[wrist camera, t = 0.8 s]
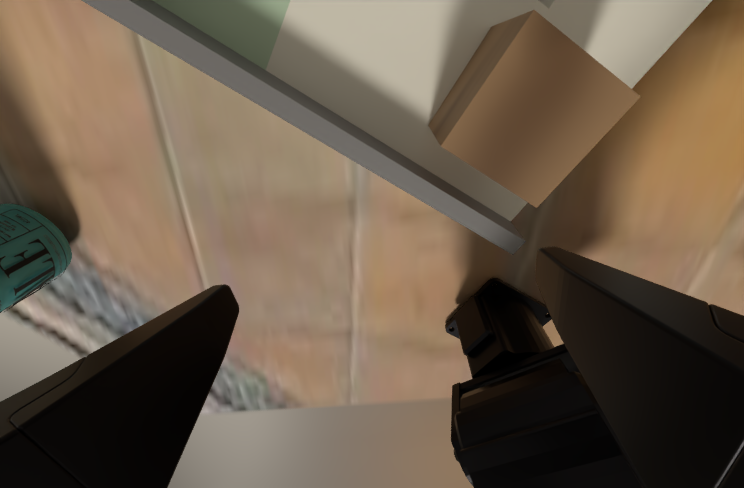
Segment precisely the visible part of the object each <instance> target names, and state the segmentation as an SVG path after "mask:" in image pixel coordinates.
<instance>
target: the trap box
mask: <svg viewBox="0 0 744 488" xmlns="http://www.w3.org/2000/svg"><path fill="white" fill-rule="evenodd" d="M82 1H83V2H85V3H87V4H88V5H90V6H92V7H93V8H95V9H97V10H99V11H100V12H102V13H104V14H105V15H107V16H109V17H110V18H112V19H114V20H115V21H117V22H119V23H121V24H122V25H124V26H126V27H127V28H129V29H131V30H132V31H134V32H136V33H138V34H139V35H141V36H143V37H144V38H146V39H148V40H149V41H151V42H153V43H154V44H156V45H158V46H160V47H161V48H163V49H165V50H166V51H168V52H170V53H171V54H173V55H175V56H177V57H178V58H180V59H182V60H183V61H185V62H187V63H188V64H190V65H192V66H193V67H195V68H197V69H199V70H200V71H202V72H204V73H205V74H207V75H209V76H210V77H212V78H214V79H215V80H217V81H219V82H221V83H222V84H224V85H226V86H227V87H229V88H231V89H232V90H234V91H236V92H238V93H239V94H241V95H243V96H244V97H246V98H248V99H249V100H251V101H253V102H254V103H256V104H258V105H260V106H261V107H263V108H265V109H266V110H268V111H270V112H271V113H273V114H275V115H277V116H278V117H280V118H282V119H283V120H285V121H287V122H288V123H290V124H292V125H293V126H295V127H297V128H299V129H300V130H302V131H304V132H305V133H307V134H309V135H310V136H312V137H314V138H316V139H317V140H319V141H321V142H322V143H324V144H326V145H327V146H329V147H331V148H332V149H334V150H336V151H338V152H339V153H341V154H343V155H344V156H346V157H348V158H349V159H351V160H353V161H354V162H356V163H358V164H360V165H361V166H363V167H365V168H366V169H368V170H370V171H371V172H373V173H375V174H377V175H378V176H380V177H382V178H383V179H385V180H387V181H388V182H390V183H392V184H393V185H395V186H397V187H399V188H400V189H402V190H404V191H405V192H407V193H409V194H410V195H412V196H414V197H416V198H417V199H419V200H421V201H422V202H424V203H426V204H427V205H429V206H431V207H432V208H434V209H436V210H438V211H439V212H441V213H443V214H444V215H446V216H448V217H449V218H451V219H453V220H454V221H456V222H458V223H460V224H461V225H463V226H465V227H466V228H468V229H470V230H471V231H473V232H475V233H477V234H478V235H480V236H482V237H483V238H485V239H487V240H488V241H490V242H492V243H493V244H495V245H497V246H499V247H500V248H502V249H504V250H505V251H507V252H509V253H510V254H512V255H513V254H514V253H515V252H516V251H517V250H518V249H519V248H520V247H521V246H522V245H523V244H524V243H525V242H526V241H525V240H524V238H523V237H522V236H521V234H520V233H519V232H518V231H517V229H516V228H515V227H514V225H513V224H512V223H511V221H512V220H513V218H514V217H515V216H516V215H517V214H518V213H519V212H520V211H521V210H522V209H523V207H524V206H525V205H526V204H527V203H528V202H527V201H525V200H523V199H522V198H520V197H519V196H517V195H516V194H514V193H513V192H511V191H509V190H508V189H506V188H505V187H503V186H502V185H500V184H499V183H497V182H495V181H494V180H492V179H491V178H489V177H488V176H486V175H485V174H483V173H481V172H480V171H478V170H477V169H475V168H474V167H472V166H471V165H469V164H467V163H466V162H464V161H463V160H461V159H460V158H458V157H457V156H455V155H453V154H452V153H450V152H449V151H447V150H446V149H444V148H443V147H441V146H440V144H439V143H438V141H437V139H436V138H435V136H434V134H433V133H432V131H431V129H430V128H429V126H428V125H429V123H430V122H431V120H432V118H433V117H434V115H435V114H436V112H437V111H438V109H439V108H440V106H441V104H442V103H443V101H444V100H445V98H446V97H447V95H448V93H449V92H450V90H451V89H452V87H453V86H454V84H455V83H456V81H457V79H458V78H459V76H460V75H461V73H462V72H463V70H464V69H465V67H466V65H467V64H468V62H469V61H470V59H471V58H472V56H473V55H474V53H475V51H476V50H477V48H478V47H479V45H480V44H481V42H482V41H483V39H484V37H485V36H486V34H487V33H488V31H489V30H490V28H491V27H492V26H494V25H496V24H499V23H502V22H504V21H507V20H509V19H512V18H514V17H517V16H519V15H522V14H524V13H527V12H530V11H532V10H535V11H536V12H538V13H539V14H540V15H541V16H543V17H544V18H545V19H546V20H548V21H549V22H550V23H551V24H552V25H554V26H555V27H556V28H557V29H559V30H560V31H561V32H562V33H564V34H565V35H566V36H567V37H568V38H570V39H571V40H572V41H573V42H575V43H576V44H577V45H578V46H579V47H581V48H582V49H583V50H584V51H586V52H587V53H588V54H589V55H591V56H592V57H593V58H594V59H595V60H597V61H598V62H599V63H600V64H602V65H603V66H604V67H605V68H607V69H608V70H609V71H610V72H611V73H613V74H614V75H615V76H616V77H618V78H619V79H620V80H621V81H622V82H624V83H625V84H626V85H627V86H629V87H630V88H631V89H632V88H633V87H634V86H635V85H636V83H637V82H638V81H639V80H640V79H641V78H642V77H643V76H644V75H645V74H646V73H647V71H648V70H649V69H650V68H651V67H652V66H653V65H654V64H655V63H656V62H657V60H658V59H659V58H660V57H661V56H662V55H663V54H664V53H665V52H666V51H667V49H668V48H669V47H670V46H671V45H672V44H673V43H674V42H675V41H676V40H677V39H678V37H679V36H680V35H681V34H682V33H683V32H684V31H685V30H686V29H687V28H688V26H689V25H690V24H691V23H692V22H693V21H694V20H695V19H696V18H697V17H698V15H699V14H700V13H701V12H702V11H703V10H704V9H705V8H706V7H707V6H708V4H709V3H710V2H711V1H712V0H82Z"/></svg>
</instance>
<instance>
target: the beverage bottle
mask: <svg viewBox="0 0 744 488" xmlns="http://www.w3.org/2000/svg"><path fill="white" fill-rule="evenodd" d="M71 258H72V253H71V248H70V245H69V243H68V241H67V239H66V238H65V236H64V235H63V233H62V232H61V231H60V230H59V229H58V228H57V227H56V226H55V225H54V224H53V223H52V222H51V221H50V220H48V219H47V218H45V217H44V216H42V215H41V214H39V213H37V212H36V211H34V210H31V209H29V208H27V207H24V206H20V205H16V204H0V313H1V311H3V310H5V309H6V308H8V307H9V306H11V305H12V304H13V306H14V304H17V303H18V302H20V301H22V300H23V299H25V298H27V297H28V296H30V295H32V294H33V293H35V292H37V291H38V290H40V289H41V287H42V286H43V284H49V283H46V282H48V281H51V279H53V278H54V277H56V276H57V275H58V276H59V274H61V273H62V272H63V271H64V270H66V268H67V267H68V265H69V264H70V262H71ZM64 272H65V271H64ZM54 280H55V279H54ZM50 283H51V282H50ZM40 286H41V287H40ZM45 286H46V285H45ZM39 287H40V288H39ZM43 287H44V286H43ZM43 287H42V288H43ZM38 288H39V289H38ZM36 289H38V290H37V291H35V290H36ZM33 291H35V292H33ZM32 292H33V293H32ZM30 293H32V294H30ZM29 294H30V295H29ZM27 295H28V296H27ZM26 296H27V297H26ZM13 306H12V307H13ZM12 307H11V308H12ZM9 309H10V308H9ZM9 309H8V310H9ZM4 312H5V311H4Z"/></svg>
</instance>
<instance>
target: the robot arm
mask: <svg viewBox="0 0 744 488" xmlns="http://www.w3.org/2000/svg"><path fill="white" fill-rule="evenodd" d="M535 276H536V282H537V285H538V287H539V289H540V292H541V294H542V296H543V299H544V301H545V304H546V305H544V304H542V303H541V302H539V301H537V300H535V299H533V298H532V297H530V296H528V295H526V294H525V293H523V292H521V291H519V290H517V289H516V288H514V287H512V286H510V285H509V284H507V283H505V282H503V281H501V280H500V279H498V278H492V279H490V280H489V281H488V282H487V283H486V284H485V285H484V286H483V287H482V288H481V289H480V290H479V291H478V292H477V293H476V294H475V295H474V296H472V297H471V298H470V299H469V300H468V301H467V303H466V304H465V305H464V306H463V307H462V308H461V309H460V310H459V311H458V312H457V313H456V314H455V315H454V317H453V318H452V319H451V320H450V321H449V322H448V323H447V324H446V325H445V328H446V332H447V333H449V334H451V335H453V336H455V337H457V338H459V339H460V341H461V345H462V349H463V353H464V355H466V356H467V359H468V363H469V367H470V371H471V374H472V378H473V379H471V380H469V381H466V382H463V383H457V384H454V385H453V386H452V421H451V442H452V445H453V447H454V455H455V458H456V460H457V461H458V462H459V463H460V465H461V467H462V469H463V471H464V473H465V475H466V477H467V479H468V480H469V482H470V483H471V484H472V485H473V487H474V488H744V316H743V315H740V314H737V313H734V312H732V311H729V310H726V309H724V308H721V307H718V306H716V305H713V304H710V305H708V303H707V302H705V301H702V300H699V299H696V298H694V297H691V296H688V295H686V294H683V293H680V292H677V291H675V290H672V289H669V288H667V287H664V286H661V285H658V284H656V283H653V282H650V281H648V280H645V279H642V278H639V277H637V276H634V275H631V274H629V273H626V272H623V271H620V270H618V269H615V268H612V267H610V266H607V265H604V264H601V263H599V262H596V261H593V260H591V259H588V258H585V257H583V256H580V255H577V254H574V253H572V252H569V251H566V250H564V249H561V248H558V247H545V248H540V249H539V250H538V252H537V259H536V273H535ZM493 284H497V285H495V286H492V285H493ZM547 313H548V314H547ZM238 314H239V305H238V303H237V301H236V299H235V297H234V295H233V293H232V290H231V288H230V287H229V286H228V285H215V286H212V287H210V288H209V289H207V290H205V291H203V292H201V293H200V294H198V295H196V296H194V297H192V298H190V299H189V300H187V301H185V302H183V303H181V304H180V305H178V306H176V307H174V308H172V309H171V310H169V311H167V312H165V313H163V314H162V315H160V316H158V317H156V318H154V319H153V320H151V321H149V322H147V323H145V324H143V325H142V326H140V327H138V328H136V329H134V330H133V331H131V332H129V333H127V334H125V335H124V336H122V337H120V338H118V339H116V340H115V341H113V342H111V343H109V344H107V345H105V346H104V347H102V348H100V349H98V350H96V351H95V352H93V353H91V354H89V355H88V356H87V357H84V358H82V359H80V360H78V361H76V362H75V363H73V364H71V365H69V366H68V367H65V368H64V369H62V370H60V371H58V372H56V373H54V374H53V375H51V376H49V377H47V378H45V379H43V380H42V381H40V382H38V383H36V384H34V385H32V386H30V387H28V388H26V389H24V390H22V391H21V392H19V393H17V394H15V395H13V396H11V397H9V398H7V399H5V400H3V401H1V402H0V488H167V487H168V485H169V483H170V480H171V478H172V476H173V474H174V471H175V469H176V467H177V464H178V462H179V460H180V458H181V455H182V453H183V451H184V448H185V446H186V444H187V442H188V439H189V437H190V434H191V432H192V430H193V428H194V426H195V423H196V421H197V419H198V417H199V414H200V412H201V410H202V407H203V405H204V403H205V401H206V398H207V396H208V394H209V391H210V389H211V387H212V385H213V382H214V380H215V378H216V375H217V373H218V371H219V369H220V366H221V364H222V362H223V359H224V357H225V354H226V351H227V348H228V345H229V342H230V339H231V336H232V333H233V330H234V326H235V323H236V320H237V317H238ZM551 319H552V320H553V323H554V325H555V327H556V329H557V331H558V333H559V335H560V337H561V339H562V341H563V342H564V344H562V345H559V346H556V347H554V346H553V344H552V342H551V341H550V339H549V337H548V336H547V334H546V332H545V330H544V329H543V326H544V325H545V324H546V323H547V322H549V321H550V320H551ZM451 327H453V328H451Z"/></svg>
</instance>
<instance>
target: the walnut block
mask: <svg viewBox="0 0 744 488" xmlns="http://www.w3.org/2000/svg"><path fill="white" fill-rule="evenodd" d="M640 97H641V96H640V95H638V94H637V93H636V92H635V91H634V90H632V89H631V88H630V87H629V86H627V85H626V84H625V83H624V82H622V81H621V80H620V79H619V78H618V77H616V76H615V75H614V74H613V73H611V72H610V71H609V70H608V69H607V68H605V67H604V66H603V65H602V64H600V63H599V62H598V61H597V60H595V59H594V58H593V57H592V56H591V55H589V54H588V53H587V52H586V51H584V50H583V49H582V48H581V47H579V46H578V45H577V44H576V43H575V42H573V41H572V40H571V39H570V38H568V37H567V36H566V35H565V34H564V33H562V32H561V31H560V30H559V29H557V28H556V27H555V26H554V25H552V24H551V23H550V22H549V21H548V20H546V19H545V18H544V17H543V16H541V15H540V14H539V13H538V12H536V11H535V10H532V11H530V12H527V13H524V14H522V15H519V16H517V17H514V18H512V19H509V20H507V21H504V22H502V23H499V24H496V25H494V26H492V27H491V28H490V30H489V31H488V33H487V34H486V36H485V37H484V39H483V41H482V42H481V44H480V45H479V47H478V48H477V50H476V51H475V53H474V55H473V56H472V58H471V59H470V61H469V62H468V64H467V65H466V67H465V69H464V70H463V72H462V73H461V75H460V76H459V78H458V79H457V81H456V83H455V84H454V86H453V87H452V89H451V90H450V92H449V93H448V95H447V97H446V98H445V100H444V101H443V103H442V104H441V106H440V108H439V109H438V111H437V112H436V114H435V115H434V117H433V118H432V120H431V122H430V123H429V125H428V126H429V128H430V129H431V131H432V133H433V134H434V136H435V138H436V139H437V141H438V143H439V144H440V146H441V147H443V148H444V149H446V150H447V151H449V152H450V153H452V154H453V155H455V156H457V157H458V158H460V159H461V160H463V161H464V162H466V163H467V164H469V165H471V166H472V167H474V168H475V169H477V170H478V171H480V172H481V173H483V174H485V175H486V176H488V177H489V178H491V179H492V180H494V181H495V182H497V183H499V184H500V185H502V186H503V187H505V188H506V189H508V190H509V191H511V192H513V193H514V194H516V195H517V196H519V197H520V198H522V199H523V200H525V201H527V202H528V203H530V204H531V205H533V206H534V207H536V208H537V207H538V206H539V205H540V204H541V203H542V202H543V201H544V200H545V199H546V198H547V196H548V195H549V194H550V193H551V192H552V191H553V190H554V189H555V188H556V187H557V186H558V185H559V184H560V183H561V182H562V180H563V179H564V178H565V177H566V176H567V175H568V174H569V173H570V172H571V171H572V170H573V169H574V168H575V167H576V166H577V164H578V163H579V162H580V161H581V160H582V159H583V158H584V157H585V156H586V155H587V154H588V153H589V152H590V151H591V149H592V148H593V147H594V146H595V145H596V144H597V143H598V142H599V141H600V140H601V139H602V138H603V137H604V136H605V135H606V133H607V132H608V131H609V130H610V129H611V128H612V127H613V126H614V125H615V124H616V123H617V122H618V121H619V120H620V119H621V117H622V116H623V115H624V114H625V113H626V112H627V111H628V110H629V109H630V108H631V107H632V106H633V105H634V104H635V103H636V101H637V100H638V99H639V98H640Z"/></svg>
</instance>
